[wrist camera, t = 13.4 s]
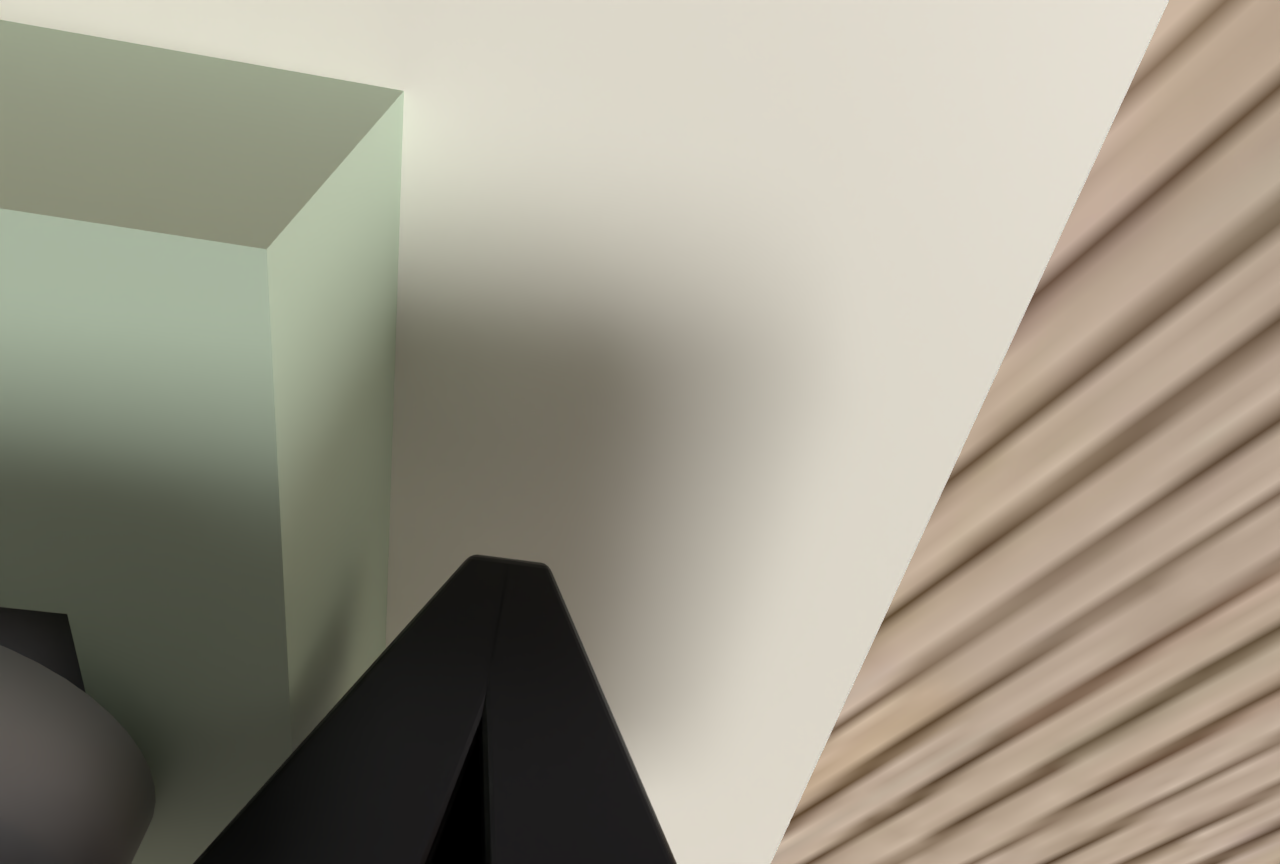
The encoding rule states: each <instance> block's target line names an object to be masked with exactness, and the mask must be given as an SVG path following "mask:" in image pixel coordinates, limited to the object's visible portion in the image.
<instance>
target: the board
mask: <svg viewBox="0 0 1280 864" xmlns="http://www.w3.org/2000/svg"><path fill="white" fill-rule="evenodd" d="M1168 2H1169V0H0V20H5V21H11V22H16V23H22V24H28V25H33V26H39V27H45V28H50V29H56V30H62V31H67V32H73V33H79V34H84V35H90V36H96V37H101V38H107V39H113V40H118V41H124V42H130V43H135V44H141V45H147V46H152V47H158V48H164V49H169V50H175V51H181V52H186V53H192V54H198V55H203V56H209V57H215V58H220V59H226V60H232V61H237V62H243V63H249V64H254V65H260V66H266V67H271V68H277V69H283V70H288V71H294V72H300V73H305V74H311V75H317V76H322V77H328V78H334V79H339V80H345V81H351V82H357V83H362V84H368V85H374V86H379V87H385V88H391V89H396V90H402V91H404V106H403V136H402V166H401V196H400V226H399V256H398V286H397V316H396V346H395V376H394V407H393V437H392V467H391V497H390V527H389V557H388V587H387V617H386V647H385V649H386V648H387V647H388V645H389V644H390V643H391V642H392V641H393V640H394V639H395V638H396V637H397V635H398V634H399V633H400V632H401V631H402V630H403V629H404V628H405V627H406V625H407V624H408V623H409V622H410V621H411V620H412V619H413V618H414V617H415V615H416V614H417V613H418V612H419V611H420V610H421V609H422V608H423V606H424V605H425V604H426V603H427V602H428V601H429V600H430V599H431V598H432V596H433V595H434V594H435V593H436V592H437V591H438V590H439V589H440V588H441V586H442V585H443V584H444V583H445V582H446V581H447V580H448V579H449V577H450V576H451V575H452V574H453V573H454V572H455V571H456V570H457V569H458V567H459V566H460V565H461V564H462V563H463V562H464V561H465V560H466V559H467V558H468V557H470V556H472V555H475V554H479V555H487V556H495V557H502V558H510V559H518V560H526V561H533V562H541V563H544V564H546V565H547V566H549V568H550V569H551V571H552V573H553V575H554V578H555V580H556V582H557V585H558V587H559V589H560V592H561V594H562V596H563V599H564V601H565V603H566V606H567V608H568V610H569V613H570V615H571V617H572V620H573V622H574V624H575V627H576V629H577V631H578V634H579V636H580V638H581V641H582V643H583V645H584V648H585V650H586V652H587V655H588V657H589V659H590V662H591V664H592V666H593V669H594V671H595V673H596V676H597V678H598V680H599V683H600V685H601V687H602V690H603V692H604V694H605V697H606V699H607V701H608V704H609V706H610V708H611V711H612V713H613V715H614V718H615V720H616V722H617V725H618V727H619V729H620V732H621V734H622V736H623V739H624V741H625V743H626V746H627V748H628V750H629V753H630V755H631V757H632V760H633V762H634V764H635V767H636V769H637V771H638V774H639V776H640V778H641V781H642V783H643V785H644V788H645V790H646V792H647V795H648V797H649V799H650V802H651V804H652V806H653V809H654V811H655V814H656V816H657V818H658V821H659V823H660V825H661V828H662V830H663V832H664V835H665V837H666V839H667V842H668V844H669V846H670V849H671V851H672V853H673V856H674V858H675V860H676V863H677V864H771V862H772V859H773V857H774V855H775V853H776V851H777V849H778V846H779V844H780V842H781V840H782V838H783V836H784V833H785V831H786V829H787V827H788V825H789V823H790V820H791V818H792V816H793V814H794V812H795V810H796V807H797V805H798V803H799V801H800V799H801V797H802V794H803V792H804V790H805V788H806V786H807V784H808V781H809V779H810V777H811V775H812V773H813V771H814V768H815V766H816V764H817V762H818V760H819V758H820V755H821V753H822V751H823V749H824V747H825V745H826V742H827V740H828V738H829V736H830V734H831V732H832V729H833V727H834V725H835V723H836V721H837V719H838V716H839V714H840V712H841V710H842V708H843V706H844V703H845V701H846V699H847V697H848V695H849V693H850V690H851V688H852V686H853V684H854V682H855V680H856V677H857V675H858V673H859V671H860V669H861V667H862V664H863V662H864V660H865V658H866V656H867V654H868V651H869V649H870V647H871V645H872V643H873V641H874V638H875V636H876V634H877V632H878V630H879V628H880V625H881V623H882V621H883V619H884V617H885V615H886V612H887V610H888V608H889V606H890V604H891V602H892V599H893V597H894V595H895V593H896V591H897V589H898V586H899V584H900V582H901V580H902V578H903V576H904V573H905V571H906V569H907V567H908V565H909V563H910V560H911V558H912V556H913V554H914V552H915V550H916V547H917V545H918V543H919V541H920V539H921V537H922V534H923V532H924V530H925V528H926V526H927V524H928V521H929V519H930V517H931V515H932V513H933V511H934V508H935V506H936V504H937V502H938V500H939V498H940V495H941V493H942V491H943V489H944V487H945V485H946V482H947V480H948V478H949V476H950V474H951V472H952V469H953V467H954V465H955V463H956V461H957V459H958V456H959V454H960V452H961V450H962V448H963V446H964V443H965V441H966V439H967V437H968V435H969V433H970V430H971V428H972V426H973V424H974V422H975V420H976V417H977V415H978V413H979V411H980V409H981V407H982V404H983V402H984V400H985V398H986V396H987V394H988V391H989V389H990V387H991V385H992V383H993V381H994V378H995V376H996V374H997V372H998V370H999V368H1000V365H1001V363H1002V361H1003V359H1004V357H1005V355H1006V352H1007V350H1008V348H1009V346H1010V344H1011V342H1012V339H1013V337H1014V335H1015V333H1016V331H1017V329H1018V326H1019V324H1020V322H1021V320H1022V318H1023V316H1024V313H1025V311H1026V309H1027V307H1028V305H1029V303H1030V300H1031V298H1032V296H1033V294H1034V292H1035V290H1036V287H1037V285H1038V283H1039V281H1040V279H1041V277H1042V274H1043V272H1044V270H1045V268H1046V266H1047V264H1048V261H1049V259H1050V257H1051V255H1052V253H1053V251H1054V248H1055V246H1056V244H1057V242H1058V240H1059V238H1060V235H1061V233H1062V231H1063V229H1064V227H1065V225H1066V222H1067V220H1068V218H1069V216H1070V214H1071V212H1072V209H1073V207H1074V205H1075V203H1076V201H1077V199H1078V196H1079V194H1080V192H1081V190H1082V188H1083V186H1084V183H1085V181H1086V179H1087V177H1088V175H1089V173H1090V170H1091V168H1092V166H1093V164H1094V162H1095V160H1096V157H1097V155H1098V153H1099V151H1100V149H1101V147H1102V144H1103V142H1104V140H1105V138H1106V136H1107V134H1108V131H1109V129H1110V127H1111V125H1112V123H1113V121H1114V118H1115V116H1116V114H1117V112H1118V110H1119V108H1120V105H1121V103H1122V101H1123V99H1124V97H1125V95H1126V92H1127V90H1128V88H1129V86H1130V84H1131V82H1132V79H1133V77H1134V75H1135V73H1136V71H1137V69H1138V66H1139V64H1140V62H1141V60H1142V58H1143V56H1144V53H1145V51H1146V49H1147V47H1148V45H1149V43H1150V41H1151V38H1152V36H1153V34H1154V32H1155V30H1156V28H1157V25H1158V23H1159V21H1160V19H1161V17H1162V15H1163V12H1164V10H1165V8H1166V6H1167V4H1168ZM154 808H155V786H154V782H153V779H152V775H151V772H150V768H149V766H148V764H147V762H146V760H145V758H144V756H143V754H142V752H141V750H140V749H139V747H138V746H137V745H136V743H135V742H134V740H133V739H132V738H131V736H130V735H129V733H128V732H127V731H126V730H125V729H124V728H123V727H122V726H121V724H120V723H119V722H118V721H117V720H116V719H115V718H114V717H113V716H112V715H111V714H110V713H109V712H108V711H107V710H106V709H104V708H103V707H102V706H101V705H100V704H99V703H97V702H96V701H95V700H94V699H93V698H92V697H91V696H89V695H88V694H86V692H85V688H84V684H83V679H82V675H81V671H80V667H79V662H78V658H77V654H76V650H75V645H74V641H73V637H72V632H71V628H70V624H69V620H68V615H67V614H62V613H52V612H43V611H34V610H24V609H15V608H5V607H0V864H131V863H132V861H133V859H134V857H135V855H136V853H137V850H138V848H139V846H140V844H141V842H142V840H143V838H144V836H145V834H146V832H147V829H148V827H149V825H150V822H151V820H152V818H153V814H154Z"/></svg>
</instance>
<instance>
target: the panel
mask: <svg viewBox="0 0 1280 864" xmlns="http://www.w3.org/2000/svg"><path fill="white" fill-rule="evenodd" d="M403 106H404V91H402V90H396V89H391V88H385V87H379V86H374V85H368V84H362V83H357V82H351V81H345V80H339V79H334V78H328V77H322V76H317V75H311V74H305V73H300V72H294V71H288V70H283V69H277V68H271V67H266V66H260V65H254V64H249V63H243V62H237V61H232V60H226V59H220V58H215V57H209V56H203V55H198V54H192V53H186V52H181V51H175V50H169V49H164V48H158V47H152V46H147V45H141V44H135V43H130V42H124V41H118V40H113V39H107V38H101V37H96V36H90V35H84V34H79V33H73V32H67V31H62V30H56V29H50V28H45V27H39V26H33V25H28V24H22V23H16V22H11V21H5V20H0V607H5V608H15V609H24V610H34V611H43V612H52V613H62V614H67V615H68V620H69V624H70V628H71V632H72V637H73V641H74V645H75V650H76V654H77V658H78V662H79V667H80V671H81V675H82V679H83V684H84V688H85V692H86V694H88V695H89V696H91V697H92V698H93V699H94V700H95V701H96V702H97V703H99V704H100V705H101V706H102V707H103V708H104V709H106V710H107V711H108V712H109V713H110V714H111V715H112V716H113V717H114V718H115V719H116V720H117V721H118V722H119V723H120V724H121V726H122V727H123V728H124V729H125V730H126V731H127V732H128V733H129V735H130V736H131V738H132V739H133V740H134V742H135V743H136V745H137V746H138V747H139V749H140V750H141V752H142V754H143V756H144V758H145V760H146V762H147V764H148V766H149V768H150V772H151V775H152V779H153V782H154V786H155V808H154V814H153V818H152V820H151V822H150V825H149V827H148V829H147V832H146V834H145V836H144V838H143V840H142V842H141V844H140V846H139V848H138V850H137V853H136V855H135V857H134V859H133V861H132V863H131V864H193V863H194V862H195V861H196V859H197V858H198V857H199V856H200V855H201V854H202V853H203V852H204V851H205V849H206V848H207V847H208V846H209V845H210V844H211V843H212V842H213V841H214V839H215V838H216V837H217V836H218V835H219V834H220V833H221V832H222V830H223V829H224V828H225V827H226V826H227V825H228V824H229V823H230V822H231V820H232V819H233V818H234V817H235V816H236V815H237V814H238V813H239V812H240V810H241V809H242V808H243V807H244V806H245V805H246V804H247V803H248V802H249V800H250V799H251V798H252V797H253V796H254V795H255V794H256V793H257V791H258V790H259V789H260V788H261V787H262V786H263V785H264V784H265V783H266V781H267V780H268V779H269V778H270V777H271V776H272V775H273V774H274V773H275V771H276V770H277V769H278V768H279V767H280V766H281V765H282V764H283V763H284V761H285V760H286V759H287V758H288V757H289V756H290V755H291V754H292V752H293V751H294V750H295V749H296V748H297V747H298V746H299V745H300V744H301V742H302V741H303V740H304V739H305V738H306V737H307V736H308V735H309V734H310V732H311V731H312V730H313V729H314V728H315V727H316V726H317V725H318V723H319V722H320V721H321V720H322V719H323V718H324V717H325V716H326V715H327V713H328V712H329V711H330V710H331V709H332V708H333V707H334V706H335V705H336V703H337V702H338V701H339V700H340V699H341V698H342V697H343V696H344V695H345V693H346V692H347V691H348V690H349V689H350V688H351V687H352V686H353V684H354V683H355V682H356V681H357V680H358V679H359V678H360V677H361V676H362V674H363V673H364V672H365V671H366V670H367V669H368V668H369V667H370V666H371V664H372V663H373V662H374V661H375V660H376V659H377V658H378V657H379V656H380V654H381V653H382V652H383V651H384V650H385V647H386V617H387V587H388V557H389V527H390V497H391V467H392V437H393V407H394V376H395V346H396V316H397V286H398V256H399V226H400V196H401V166H402V136H403Z"/></svg>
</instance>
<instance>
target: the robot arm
mask: <svg viewBox="0 0 1280 864" xmlns="http://www.w3.org/2000/svg"><path fill="white" fill-rule="evenodd" d="M193 864H677V863H676V860H675V858H674V856H673V853H672V851H671V849H670V846H669V844H668V842H667V839H666V837H665V835H664V832H663V830H662V828H661V825H660V823H659V821H658V818H657V816H656V814H655V811H654V809H653V806H652V804H651V802H650V799H649V797H648V795H647V792H646V790H645V788H644V785H643V783H642V781H641V778H640V776H639V774H638V771H637V769H636V767H635V764H634V762H633V760H632V757H631V755H630V753H629V750H628V748H627V746H626V743H625V741H624V739H623V736H622V734H621V732H620V729H619V727H618V725H617V722H616V720H615V718H614V715H613V713H612V711H611V708H610V706H609V704H608V701H607V699H606V697H605V694H604V692H603V690H602V687H601V685H600V683H599V680H598V678H597V676H596V673H595V671H594V669H593V666H592V664H591V662H590V659H589V657H588V655H587V652H586V650H585V648H584V645H583V643H582V641H581V638H580V636H579V634H578V631H577V629H576V627H575V624H574V622H573V620H572V617H571V615H570V613H569V610H568V608H567V606H566V603H565V601H564V599H563V596H562V594H561V592H560V589H559V587H558V585H557V582H556V580H555V578H554V575H553V573H552V571H551V569H550V568H549V566H547V565H546V564H544V563H541V562H533V561H526V560H518V559H510V558H502V557H495V556H487V555H479V554H475V555H472V556H470V557H468V558H467V559H466V560H465V561H464V562H463V563H462V564H461V565H460V566H459V567H458V569H457V570H456V571H455V572H454V573H453V574H452V575H451V576H450V577H449V579H448V580H447V581H446V582H445V583H444V584H443V585H442V586H441V588H440V589H439V590H438V591H437V592H436V593H435V594H434V595H433V596H432V598H431V599H430V600H429V601H428V602H427V603H426V604H425V605H424V606H423V608H422V609H421V610H420V611H419V612H418V613H417V614H416V615H415V617H414V618H413V619H412V620H411V621H410V622H409V623H408V624H407V625H406V627H405V628H404V629H403V630H402V631H401V632H400V633H399V634H398V635H397V637H396V638H395V639H394V640H393V641H392V642H391V643H390V644H389V645H388V647H387V648H386V649H385V650H384V651H383V652H382V653H381V654H380V656H379V657H378V658H377V659H376V660H375V661H374V662H373V663H372V664H371V666H370V667H369V668H368V669H367V670H366V671H365V672H364V673H363V674H362V676H361V677H360V678H359V679H358V680H357V681H356V682H355V683H354V684H353V686H352V687H351V688H350V689H349V690H348V691H347V692H346V693H345V695H344V696H343V697H342V698H341V699H340V700H339V701H338V702H337V703H336V705H335V706H334V707H333V708H332V709H331V710H330V711H329V712H328V713H327V715H326V716H325V717H324V718H323V719H322V720H321V721H320V722H319V723H318V725H317V726H316V727H315V728H314V729H313V730H312V731H311V732H310V734H309V735H308V736H307V737H306V738H305V739H304V740H303V741H302V742H301V744H300V745H299V746H298V747H297V748H296V749H295V750H294V751H293V752H292V754H291V755H290V756H289V757H288V758H287V759H286V760H285V761H284V763H283V764H282V765H281V766H280V767H279V768H278V769H277V770H276V771H275V773H274V774H273V775H272V776H271V777H270V778H269V779H268V780H267V781H266V783H265V784H264V785H263V786H262V787H261V788H260V789H259V790H258V791H257V793H256V794H255V795H254V796H253V797H252V798H251V799H250V800H249V802H248V803H247V804H246V805H245V806H244V807H243V808H242V809H241V810H240V812H239V813H238V814H237V815H236V816H235V817H234V818H233V819H232V820H231V822H230V823H229V824H228V825H227V826H226V827H225V828H224V829H223V830H222V832H221V833H220V834H219V835H218V836H217V837H216V838H215V839H214V841H213V842H212V843H211V844H210V845H209V846H208V847H207V848H206V849H205V851H204V852H203V853H202V854H201V855H200V856H199V857H198V858H197V859H196V861H195V862H194V863H193Z"/></svg>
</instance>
